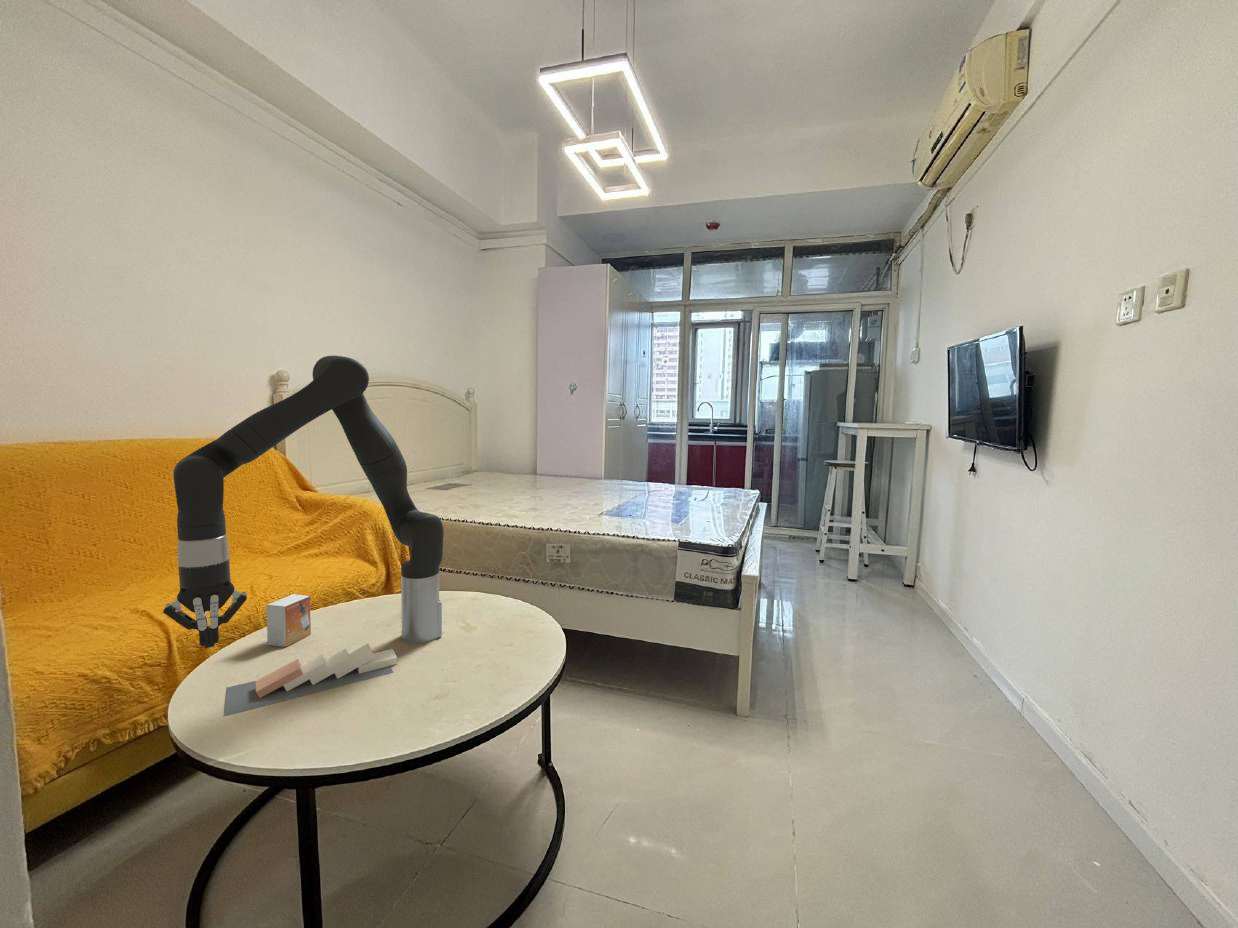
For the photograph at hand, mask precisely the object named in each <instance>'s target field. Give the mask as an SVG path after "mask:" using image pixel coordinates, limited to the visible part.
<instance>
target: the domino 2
mask: <svg viewBox="0 0 1238 928" xmlns="http://www.w3.org/2000/svg"><path fill="white" fill-rule="evenodd" d="M326 659H327V658H325V656H324V654H323V653H321V654H319V655H318V656H316V657H313V658H312V659H309V660H308V661H306V662H304V663H301V667H302V672H303V675H301V676H300V677H298V678H296V679H294V680H292V681H290V682H289V683H287V684H285V685H283V686H284V687H285V689H286V691H289V690H291V689H293V688H294V687H296V686H298V685H300V684H302V683H303V682H305V681H307V680H309V679H311V678H313V677H314V676H316V675H318V674H320V673H322V672H323V671H325V670H327V669H328V666H327V663H326Z"/></svg>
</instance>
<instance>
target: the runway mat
mask: <svg viewBox="0 0 1238 928" xmlns="http://www.w3.org/2000/svg"><path fill="white" fill-rule="evenodd" d="M382 651H383V650H381V651H380V652H382ZM393 673H395V672H394V670H393V668H392V665H391V666H387V667H383V668H379V669H375V670H371V671H367V672H363V673H358V670H357V668H356V669H354V670H352V671H351V672H349V673H347V674H345V675H344V676H342V677H340V678H338V679H337V677H336V675H335V673H334V674H332V675H330V676H328V677H326V678H325V679H323V680H321V681H319V682H317V683H316V684H314V685H312V683H311V681H310V679H309V680H307V681H305V682H303V683H302V684H300V685H298V686H296V687H294V688H293V689H291V690H289V691H286V689H285V687H284V686H281V687H279V688H278V689H276V690H274V691H272V692H270V693H269V694H267V695H265V696H263V697H261V698H259V696H258V695H257V693H256V681H257V680H254V681H249V682H245V683H241V684H236V685H232V686H228V687H227V686H226V687H225V688H226V689H225V698H224V707H223V709H224V710H223V717H228V716H231V715H235V714H239V713H243V712H246V711H250V710H255V709H258V708H262V707H266V706H270V705H274V704H278V703H282V702H285V701H289V700H293V699H297V698H300V697H305V696H309V695H313V694H316V693H320V692H324V691H328V690H331V689H335V688H339V687H343V686H347V685H350V684H354V683H355V684H356V683H358V682H362V681H367V680H370V679H374V678H378V677H382V676H385V675H389V674H393Z"/></svg>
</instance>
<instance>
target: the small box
mask: <svg viewBox="0 0 1238 928" xmlns="http://www.w3.org/2000/svg"><path fill="white" fill-rule="evenodd" d="M311 625H312V624H311V596H310V595H304V594H303V595H302V594H294V593H293V594H290V595H288V596H286V597H283V598H281V599H278V600H275V601H273V602H271V603H267V604H266V632H267V633H266V635H267V636H266V637H267V645H269V646H273V647H274V646H275V647H280V648H281V647H282V648H287V647H289V646H290V645H292V644H294V643H296V642H298V641H301V640H303V639H305V638H306V637H309V636H311V635H312V628H311V627H312V626H311Z"/></svg>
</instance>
